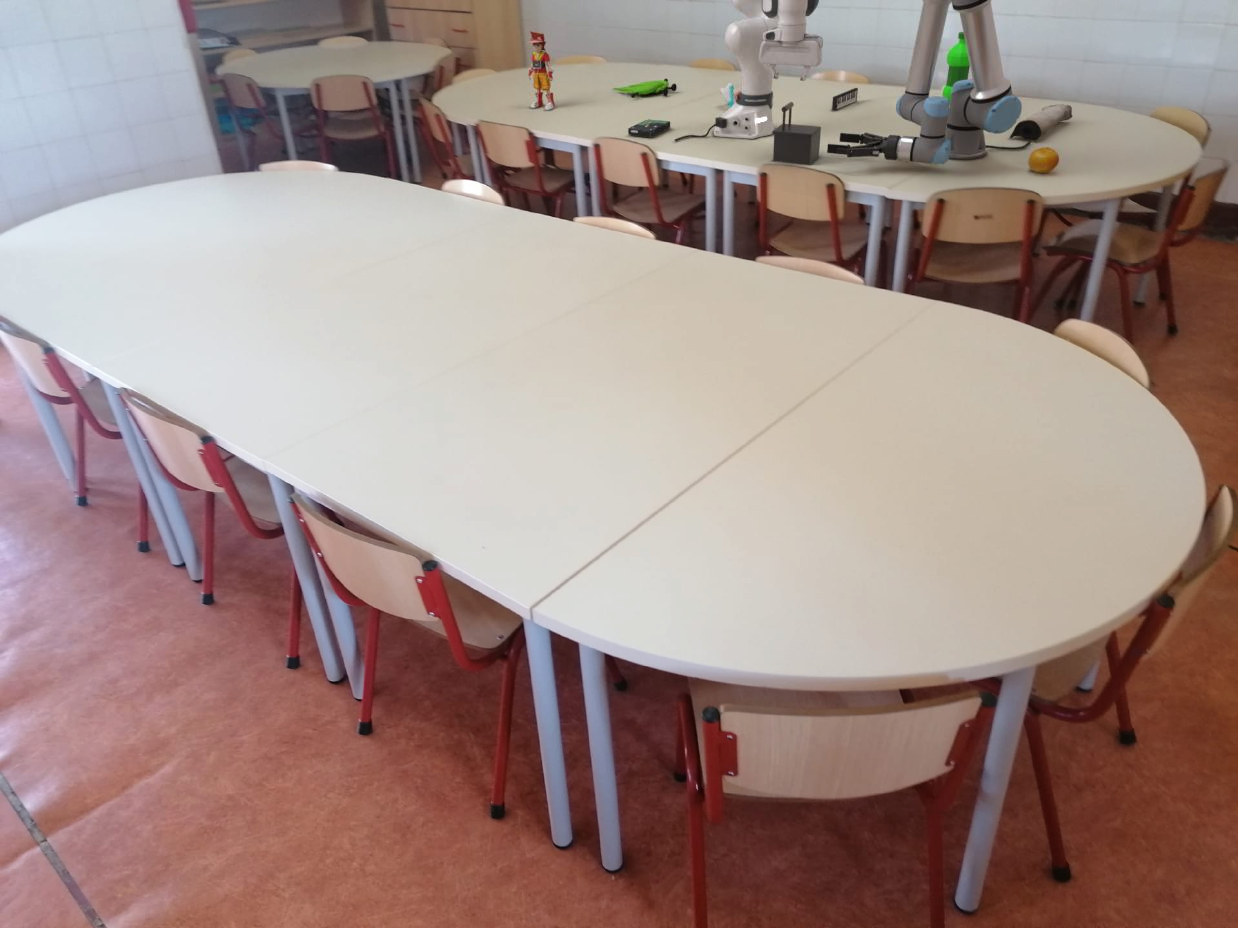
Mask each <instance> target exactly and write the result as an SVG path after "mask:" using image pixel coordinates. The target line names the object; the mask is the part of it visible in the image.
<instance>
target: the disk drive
mask: <svg viewBox="0 0 1238 928" xmlns="http://www.w3.org/2000/svg"><path fill="white" fill-rule="evenodd" d="M670 128H671V121H669V120H661V119H650V118H649V119H645V120H642V121H641V122H638V123H637V124H635V125H632V126H630V127H628V128H627V135H628V136H633V137H641V138H653V137H655V136H658V135H660V134H661V133H663V132H665V131H667V130H669V129H670Z"/></svg>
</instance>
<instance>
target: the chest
mask: <svg viewBox="0 0 1238 928" xmlns="http://www.w3.org/2000/svg"><path fill="white" fill-rule="evenodd" d="M821 134H822V129H821V130H819V131H818V132H817V133H816V134H814V135H813V136H812V137H806V136H794V135H783V134H773V151H772V152H773V153H772V162H779V163H780V162H781V163H786V164H787V163H788V164H799V165H810V166H811V164H813V162H814V161H816V160H817V159H818V158H820V146H821Z"/></svg>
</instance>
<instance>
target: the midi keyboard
mask: <svg viewBox="0 0 1238 928" xmlns="http://www.w3.org/2000/svg"><path fill="white" fill-rule="evenodd" d="M858 90H859V88H858V87H854V88H852V89H849V90H846V91H844V92H842V93H839V94H837V95H833V96H832V101H831V102H832V104H831V111H837V110H838V109H841V108H843V107H846V106H848V105H850V104H852V103H855V102H857V101H858V93H859V91H858Z"/></svg>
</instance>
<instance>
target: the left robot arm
mask: <svg viewBox="0 0 1238 928" xmlns="http://www.w3.org/2000/svg"><path fill="white" fill-rule="evenodd" d="M731 2H732V5H733V7H734V9H735V10H736V11H738V12H739V13H742V14H743V15H745V16H746V18H741V19H738V20H736V21H734V22H732V23H730V24H728V26H727V28H726V29H725V33H724V42H725V46H726V48H727V49H728V50H729V51H730V53H732V54H733V55H734V56H735V58H736V59H737V61H738V64H739V67H740V75H741V89H740V90H741V91H739V90H737V91H736V92H737V93H736V92H735V93H736V103H735V104H734V105H733V106H732V107H730V106H729V108H727V110H726V111H724V113H722V114H721V116H717V117H715V123H714V124H713V125H711V126H710V127H709V128H708V130H707V132H706V133H705V134H703V135H698V134H697V135H696V134H686V135H683V136H680V137H677V138H675V139H674V142H677V141H681V140H683V139H686V138H706V137H707V136H708V135H709V134H710V132H711V130H712V129H713V128H714V130H713V135H714V136H715V137H721V138H722V137H723V138H736V139H737V138H738V139H750V140H753V139H754V140H755V139H758V138H761V137H766V136H770V135H773V134H772V131H773V130H774V129H775V127H774V120H773V107H774V91H773V80H778V79H779V74H780V73H779V72H777V70H776V67H777V66H794V67H795V66H797V67H803V70H804V72H803V73H801V74H800V76H799V80H800V82H806V80H807V75H808V73H809V71H810V70H811V67H815V68H817V67H818V66H819V65H821V64H822V61H823V45H824V38H823V37H822V36H821V35H819V33H814V34H813V33H807V17H810V16H811V15H812V14H813V13H814V12H815V10H816V9H817V7H818V5H819V4H820V3H819V2H820V0H731Z"/></svg>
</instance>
